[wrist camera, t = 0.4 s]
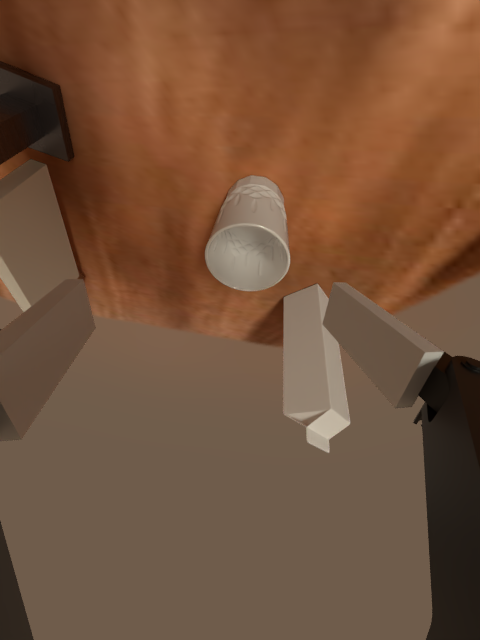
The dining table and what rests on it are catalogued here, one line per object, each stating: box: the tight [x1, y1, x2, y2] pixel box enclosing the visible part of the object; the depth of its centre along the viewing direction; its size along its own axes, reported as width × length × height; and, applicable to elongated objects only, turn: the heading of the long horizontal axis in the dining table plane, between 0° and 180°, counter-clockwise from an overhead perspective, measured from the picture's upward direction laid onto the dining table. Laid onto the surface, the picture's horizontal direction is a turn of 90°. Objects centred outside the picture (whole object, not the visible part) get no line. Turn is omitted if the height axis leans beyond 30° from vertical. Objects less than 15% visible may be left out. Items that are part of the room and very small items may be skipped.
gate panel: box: [0, 159, 83, 312], centre depth 31 cm, size 19×2×11 cm, turn 162°
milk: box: [283, 284, 350, 453], centre depth 34 cm, size 6×6×22 cm
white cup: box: [205, 175, 290, 291], centre depth 26 cm, size 8×8×10 cm
